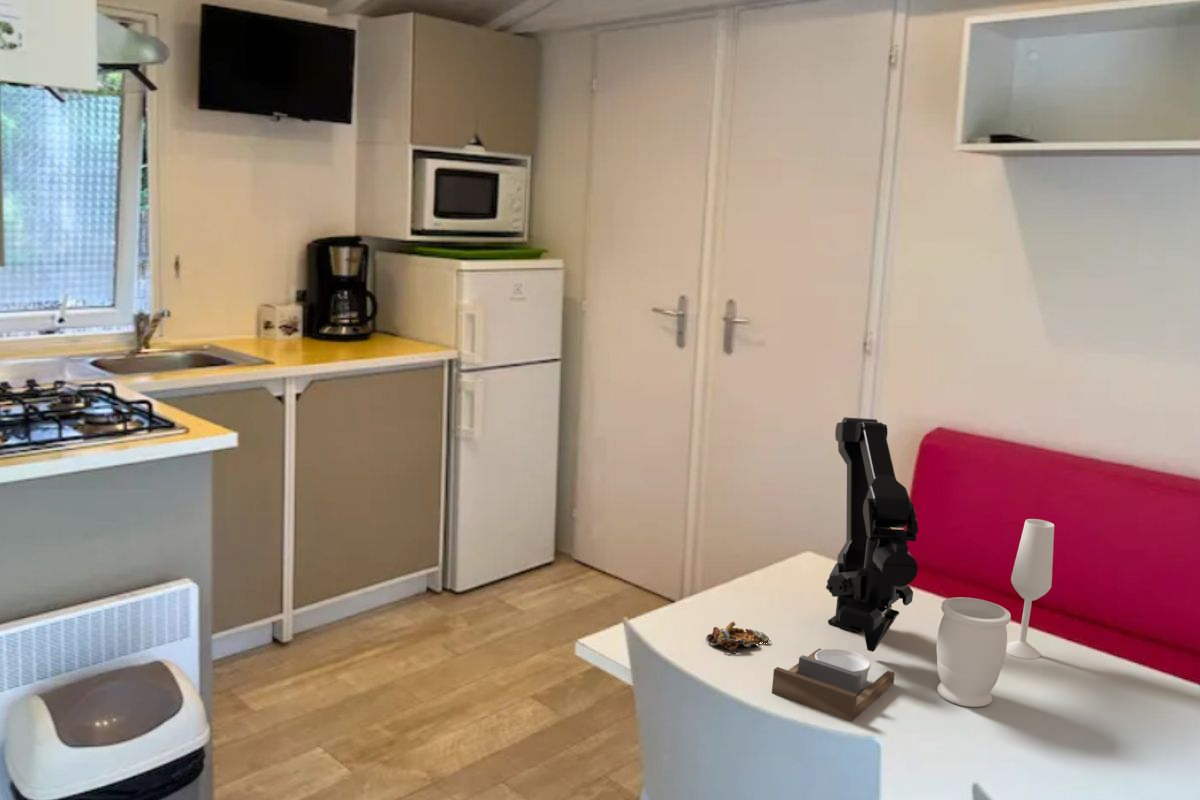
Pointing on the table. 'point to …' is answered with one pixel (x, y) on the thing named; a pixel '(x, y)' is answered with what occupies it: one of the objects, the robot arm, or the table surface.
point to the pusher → (829, 674)
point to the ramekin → (846, 661)
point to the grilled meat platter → (735, 637)
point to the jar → (970, 650)
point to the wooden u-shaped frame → (827, 692)
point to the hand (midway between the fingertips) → (871, 650)
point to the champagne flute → (1032, 577)
